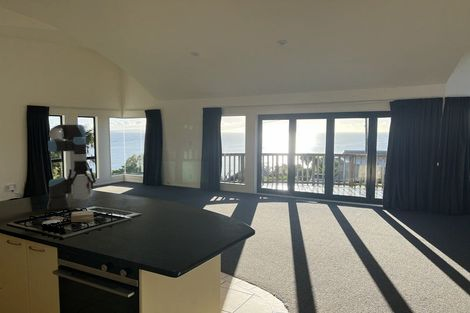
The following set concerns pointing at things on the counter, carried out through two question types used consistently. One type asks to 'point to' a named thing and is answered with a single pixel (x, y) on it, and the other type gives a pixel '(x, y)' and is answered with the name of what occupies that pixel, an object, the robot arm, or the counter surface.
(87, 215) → the maple block
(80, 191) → the supplement box
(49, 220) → the cream smooth round part
